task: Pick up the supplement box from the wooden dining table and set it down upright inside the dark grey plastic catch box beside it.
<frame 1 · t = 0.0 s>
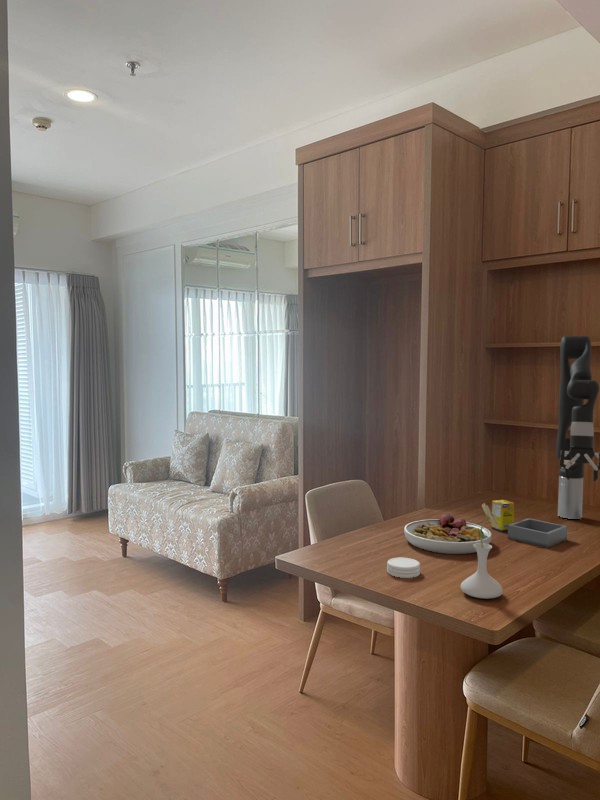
hand: (580, 480, 219), 22 cm above the table, tool pointing down, fingers open, 8 cm apart
flower in vase: (481, 594, 170), on the table
coaster: (403, 573, 187), on the table
catch box: (537, 539, 223), on the table
bowl: (446, 544, 217), on the table
supplement box: (502, 530, 235), on the table
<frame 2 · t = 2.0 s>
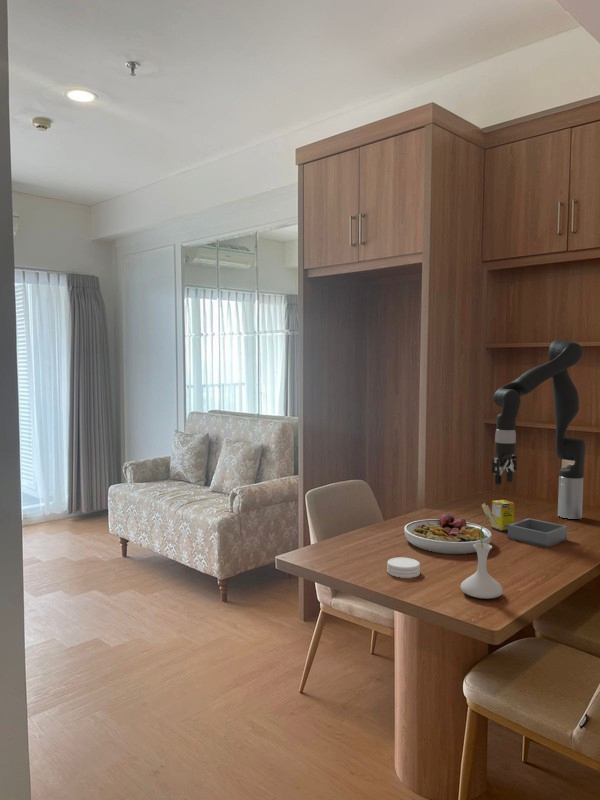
hand: (504, 483, 234), 18 cm above the table, tool pointing down, fingers open, 8 cm apart
nothing on the table moved.
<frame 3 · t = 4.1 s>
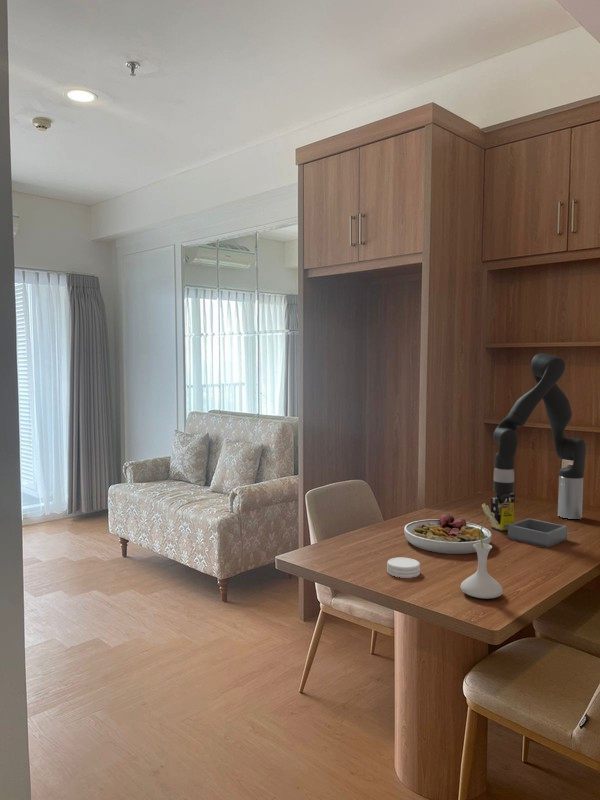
hand: (502, 522, 235), 3 cm above the table, tool pointing down, fingers closed on supplement box, 7 cm apart
supplement box: (502, 530, 235), on the table, touching gripper
everything else where it was.
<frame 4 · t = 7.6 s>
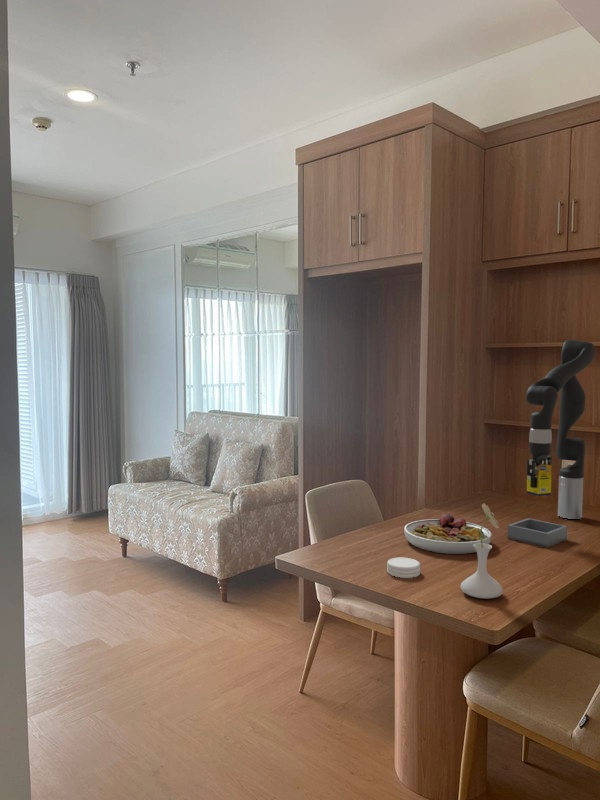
hand: (538, 486, 221), 20 cm above the table, tool pointing down, fingers closed on supplement box, 7 cm apart
supplement box: (538, 494, 222), point 16 cm above the table, touching gripper
everything else where it was.
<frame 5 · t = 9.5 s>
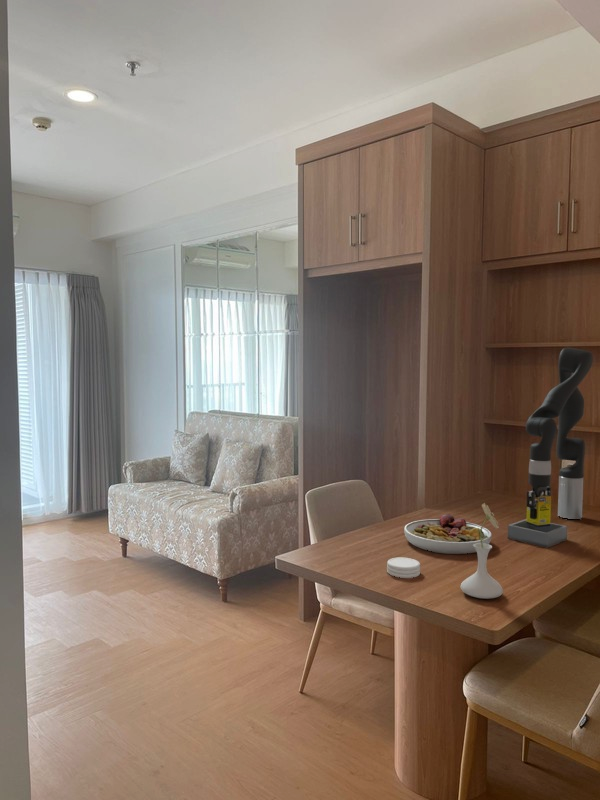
hand: (538, 517, 222), 8 cm above the table, tool pointing down, fingers closed on supplement box, 7 cm apart
supplement box: (538, 525, 222), point 5 cm above the table, touching gripper
everything else where it was.
when the fingers open (6 cm above the table, at t = 11.1 s): supplement box drops 2 cm, resting on catch box.
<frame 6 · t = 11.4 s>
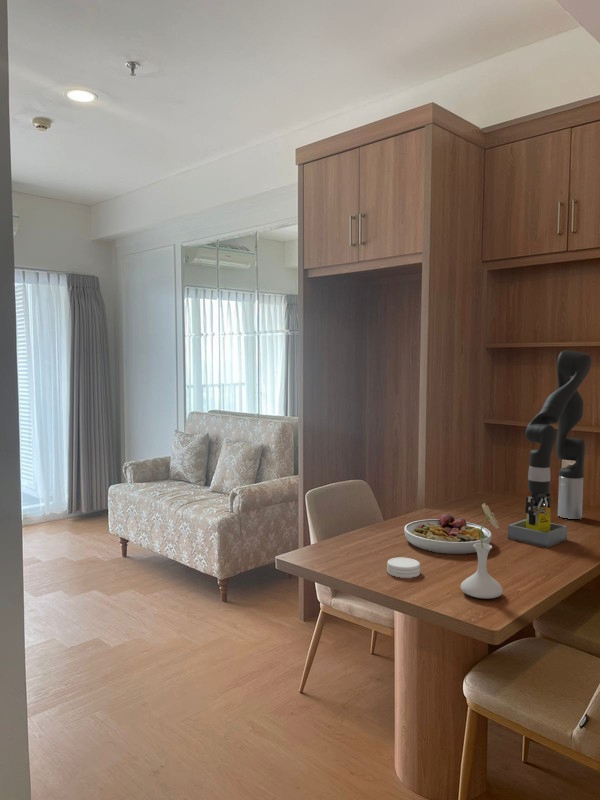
hand: (537, 522, 222), 6 cm above the table, tool pointing down, fingers open, 8 cm apart
supplement box: (537, 536, 223), point 1 cm above the table, touching catch box
everything else where it was.
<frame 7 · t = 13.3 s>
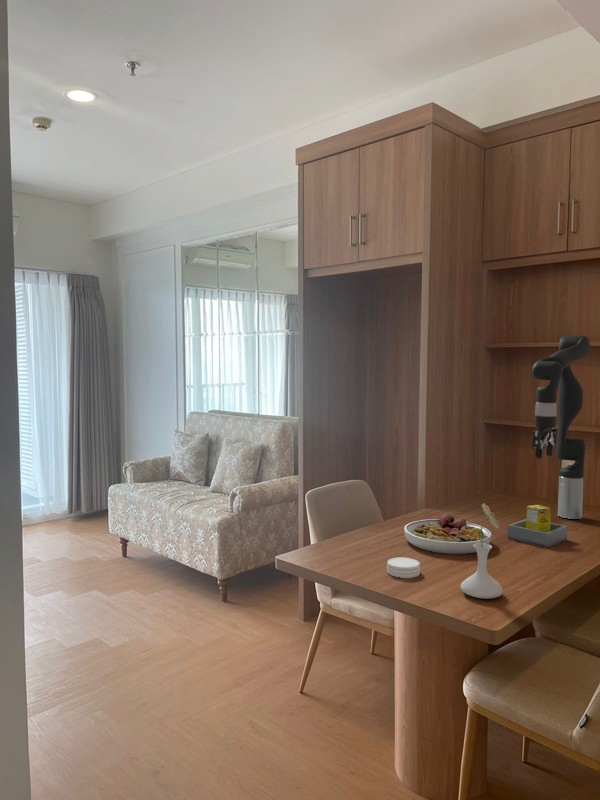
hand: (544, 456, 231), 29 cm above the table, tool pointing down, fingers open, 8 cm apart
nothing on the table moved.
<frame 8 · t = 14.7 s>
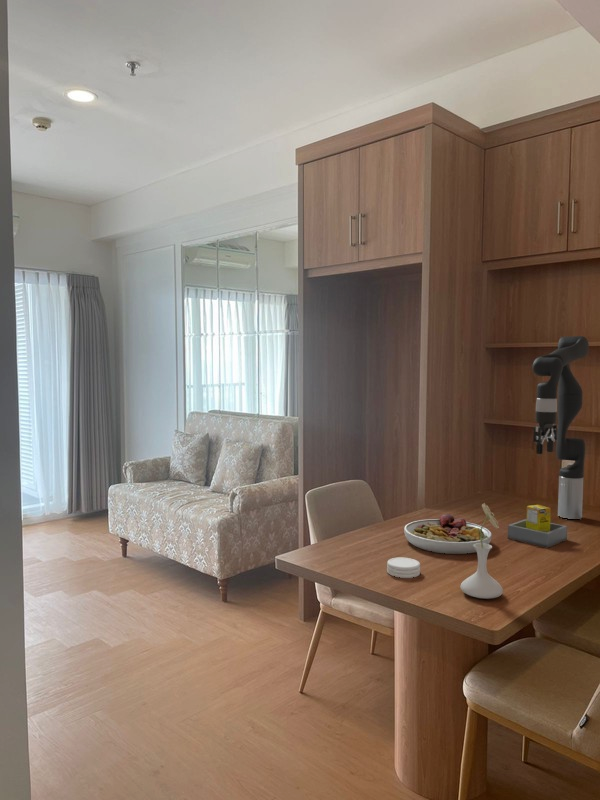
hand: (544, 452, 232), 30 cm above the table, tool pointing down, fingers open, 8 cm apart
nothing on the table moved.
at the end: supplement box inside the target area on the catch box (0.3 cm from its centre), point 0.8 cm above the catch box's base; supplement box tilted 0°; the gripper is holding nothing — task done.
